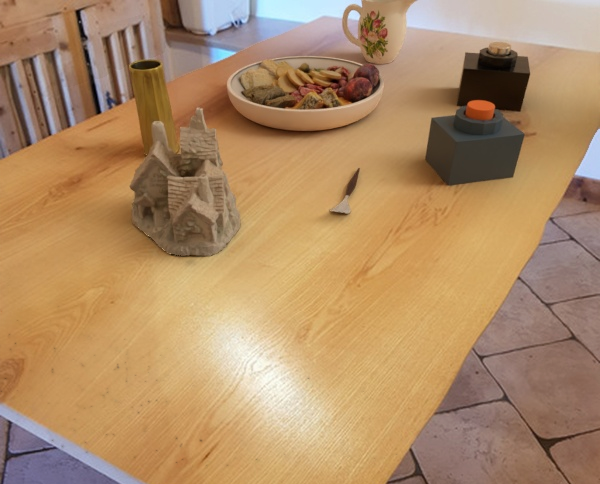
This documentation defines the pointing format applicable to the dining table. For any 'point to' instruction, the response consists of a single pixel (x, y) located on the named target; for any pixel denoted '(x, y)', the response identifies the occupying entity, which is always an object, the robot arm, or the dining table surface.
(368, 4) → the pitcher
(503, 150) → the button housing
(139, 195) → the ceramic cottage
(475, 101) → the orange push button
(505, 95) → the base unit
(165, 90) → the vase
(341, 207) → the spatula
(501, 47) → the power button
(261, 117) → the bowl
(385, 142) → the dining table surface
